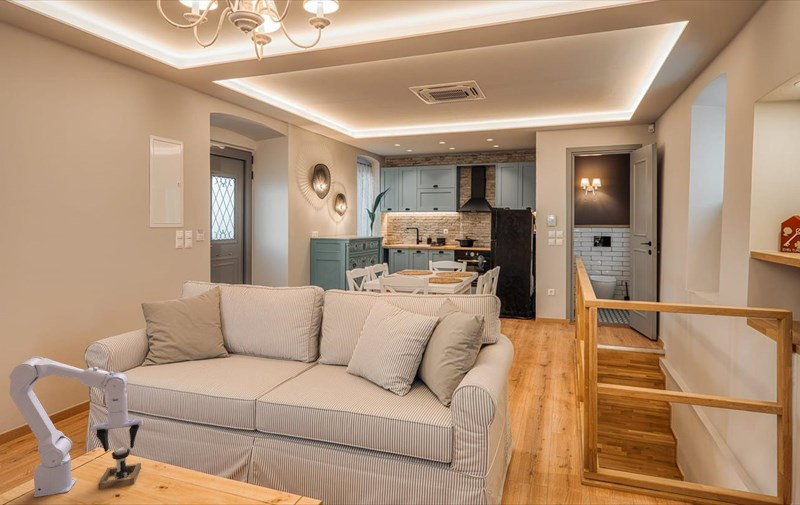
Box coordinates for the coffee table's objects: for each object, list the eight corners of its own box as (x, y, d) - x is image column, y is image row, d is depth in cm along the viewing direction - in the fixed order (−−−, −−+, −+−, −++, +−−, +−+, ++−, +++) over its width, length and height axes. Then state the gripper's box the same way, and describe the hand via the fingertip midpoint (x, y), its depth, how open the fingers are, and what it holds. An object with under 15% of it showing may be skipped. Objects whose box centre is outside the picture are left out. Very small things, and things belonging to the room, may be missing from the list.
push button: (121, 484, 157) (120, 455, 157) (106, 483, 158) (105, 454, 157) (134, 473, 164) (133, 445, 163) (119, 473, 164) (118, 445, 164)
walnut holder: (98, 489, 154) (98, 483, 154) (107, 473, 164) (107, 467, 164) (134, 483, 157) (134, 478, 157) (141, 468, 167) (140, 462, 167)
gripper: (144, 402, 166) (145, 440, 166) (96, 408, 161) (98, 446, 162) (140, 409, 159) (141, 449, 160) (90, 415, 154) (92, 456, 155)
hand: (119, 448), depth 160 cm, fingers open, 7 cm apart
